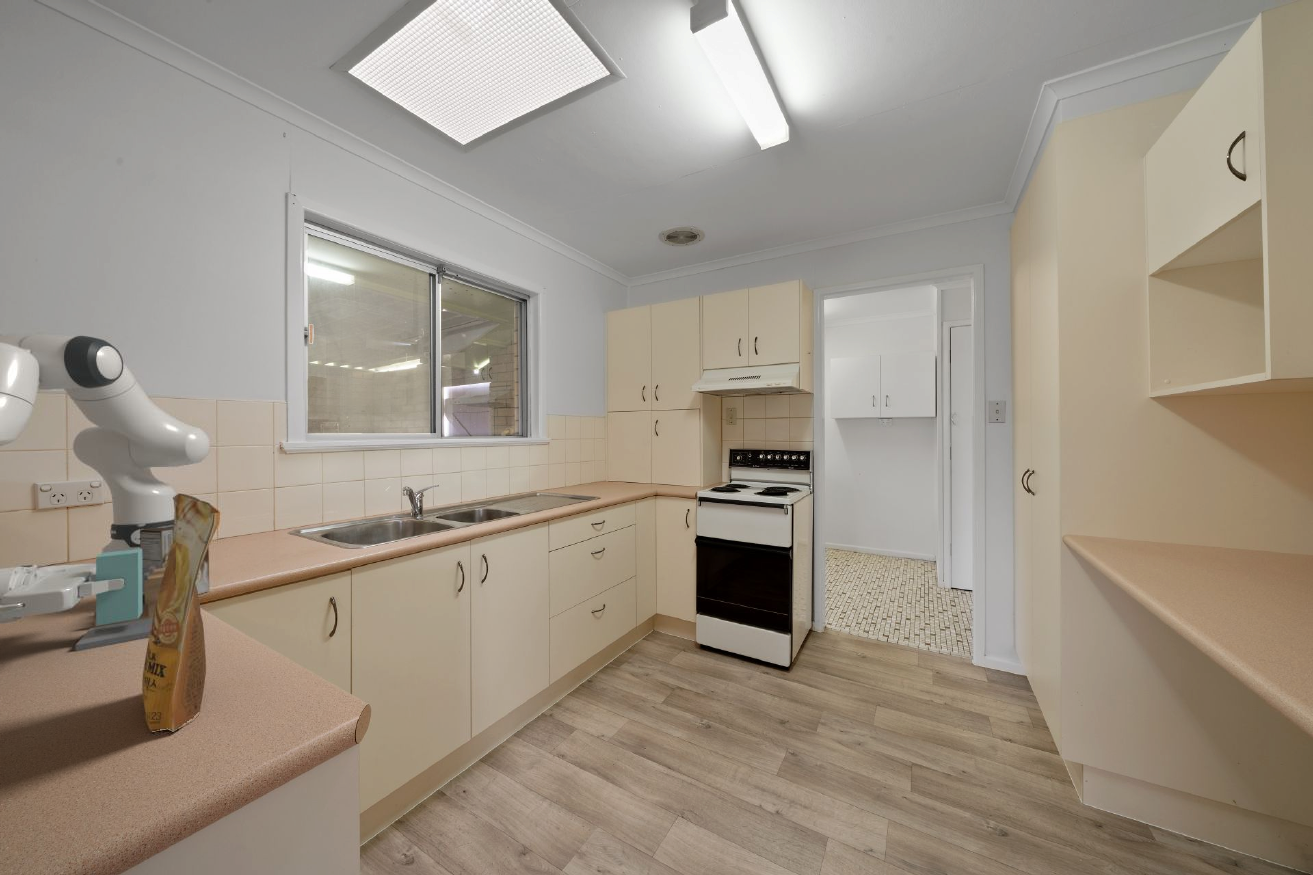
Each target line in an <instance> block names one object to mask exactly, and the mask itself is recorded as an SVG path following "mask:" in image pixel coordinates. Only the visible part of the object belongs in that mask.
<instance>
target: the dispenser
mask: <svg viewBox="0 0 1313 875" xmlns="http://www.w3.org/2000/svg"><path fill="white" fill-rule="evenodd" d="M164 572H165V568H159V569H155V565H153V566H151V567H150V568H149V569H148V570H147V571H146V573H145V574H144V575H143V581H144V580H145V594H143V595H142V614H141V615H140V617H139V618H138V619H134V620H128V621H122V622H116V623H110V624H104V625H98V626H96V611H94V613H93V614H94V628H95V627H101V626H107V625H113V624H118V623H124V622H130V621H136V620H142V619H148V618H153V617H154V611H155V606H156V602H157V598H158V594H159V590H160V585H161V582H162V579H163V575H164Z"/></svg>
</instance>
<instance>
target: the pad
mask: <svg viewBox="0 0 1313 875" xmlns="http://www.w3.org/2000/svg"><path fill="white" fill-rule="evenodd" d="M152 621H153V618H148V619H142V620H136V621H130V622H124V623H118V624H113V625H107V626H101V627H95V626H94V627H91V628H88V630H87V631H86V633H85V634H84V635H83V636H82V637H81V638H80V640H79V641H77V643H76V644H75V651H76V652H79V651H81V650H82V651H83V650H88V649H93V648H98V647H103V646H104V647H105V646H109V645H115V644H121V643H125V642H129V641H136V640H140V639H141V640H142V639H146V638H149V636H150V631H151V626H152Z"/></svg>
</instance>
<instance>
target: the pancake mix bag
mask: <svg viewBox="0 0 1313 875" xmlns="http://www.w3.org/2000/svg"><path fill="white" fill-rule="evenodd" d="M173 500H174V509H175V514H174V528H173V536H172V544H171V547H170V551H169V555H168V559H167V564H166V568H165V572H164V575H163V579H162V582H161V585H160V590H159V594H158V598H157V602H156V606H155V611H154V617H153V621H152V626H151V631H150V636H149V637H148V642H147V647H146V652H145V658H144V665H143V670H142V671H143V672H142V683H141V684H142V685H141V687H142V688H141V689H142V690H141V691H142V700H143V705H144V706H143V707H144V711H145V721H146V724H147V727H148V729H150V730H149V732H150V733H151V732H152V731H157V730H160V729H167V728H168V729H170V730H171V731H172V732H174V731H175V730H176V729H178V728H179V727H181V726H182V725H183V724H184V723H187V721H189V720H190V719H193V718H194V716H195V715H196V714H197V713H198V712H200V711H201V705H202V700H203V696H204V695H203V694H204V690H205V681H206V674H207V658H206V644H205V642H206V640H205V631H204V622H203V617H202V612H201V604H200V596H199V594H198V592H197V588H196V584H195V583H196V579H197V575H198V572H199V570H200V567H201V565H202V562H203V560H204V557H205V554H206V552H207V549H208V547H209V546H210V545H211V543H212V542H211V541H212V540H213V538H214V535H215V533H216V531H217V529H218V528H219V525H220V522H221V521H220V518H221V511H219V510H218V508H216V507H215V506H214V505H212V504H211V503H210V502H207V501H206V500H205V501H204V500H200V499H199V498H197V497H195V496H193V495H188V494H184V493H176V496H174V497H173ZM200 713H201V712H200ZM172 732H171V733H172ZM174 733H175V732H174Z"/></svg>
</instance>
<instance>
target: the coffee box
mask: <svg viewBox="0 0 1313 875" xmlns="http://www.w3.org/2000/svg"><path fill="white" fill-rule="evenodd" d="M173 528H174V525H167V526H161V527H155V528H149V529H142V530H140V549H142V595H143V594H145V580H144V581H143V575H144V574H145V573H146V571H147V570H148V569H149V568H150V567H151V566H153V565H155V569H159V568H166V564H167V559H168V555H169V551H170V547H171V544H172V536H173ZM209 557H210V550H209V547H208V549H207V552H206V554H205V557H204V560H203V562H202V565H201V567H200V570H199V572H198V575H197V579H196V583H195V584H196V588H197V592H198V595H201V594H205V593H208V592H210V590H211V589H210V558H209Z"/></svg>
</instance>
